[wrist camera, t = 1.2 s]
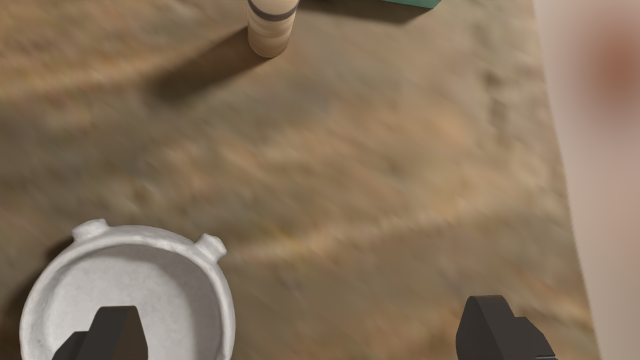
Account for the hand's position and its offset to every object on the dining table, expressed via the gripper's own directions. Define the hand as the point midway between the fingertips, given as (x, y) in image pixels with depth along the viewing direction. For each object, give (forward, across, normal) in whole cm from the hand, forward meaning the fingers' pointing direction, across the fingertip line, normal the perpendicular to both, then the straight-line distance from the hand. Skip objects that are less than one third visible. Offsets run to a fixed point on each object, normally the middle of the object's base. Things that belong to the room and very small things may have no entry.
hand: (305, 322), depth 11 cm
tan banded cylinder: (+29, +2, +2) cm, 29 cm away
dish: (+17, +11, +19) cm, 28 cm away
